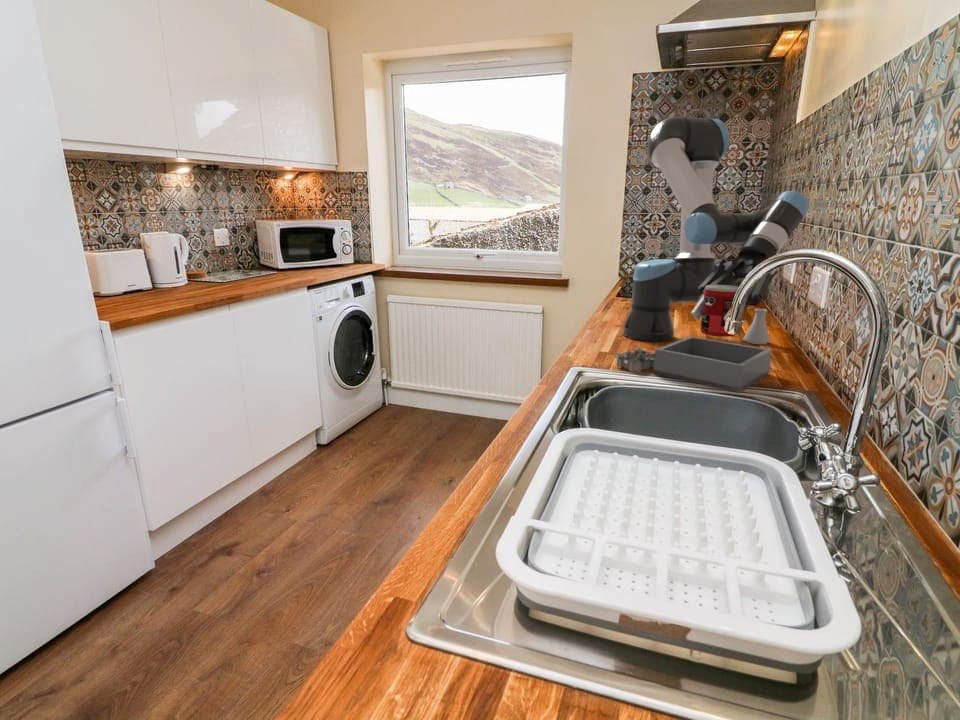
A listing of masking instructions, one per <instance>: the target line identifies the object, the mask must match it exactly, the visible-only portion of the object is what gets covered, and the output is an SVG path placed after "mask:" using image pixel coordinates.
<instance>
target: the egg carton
mask: <svg viewBox="0 0 960 720" xmlns="http://www.w3.org/2000/svg"><path fill="white" fill-rule="evenodd" d="M654 357H655V352H653V353H652V352H651V351H648V350H644V349H642V348H641V347H638V348H637V349H634V350H628V351H625V352H622V353H620V352H616V354H615V355H614V358H615V359H616V364H615V365H617V368H618V367H624V368H623V369H627V368H628V369H627V370H631V371H630V372H638V371H639V372H641V370H649V369H650V367H651V368H653V367H654Z"/></svg>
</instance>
